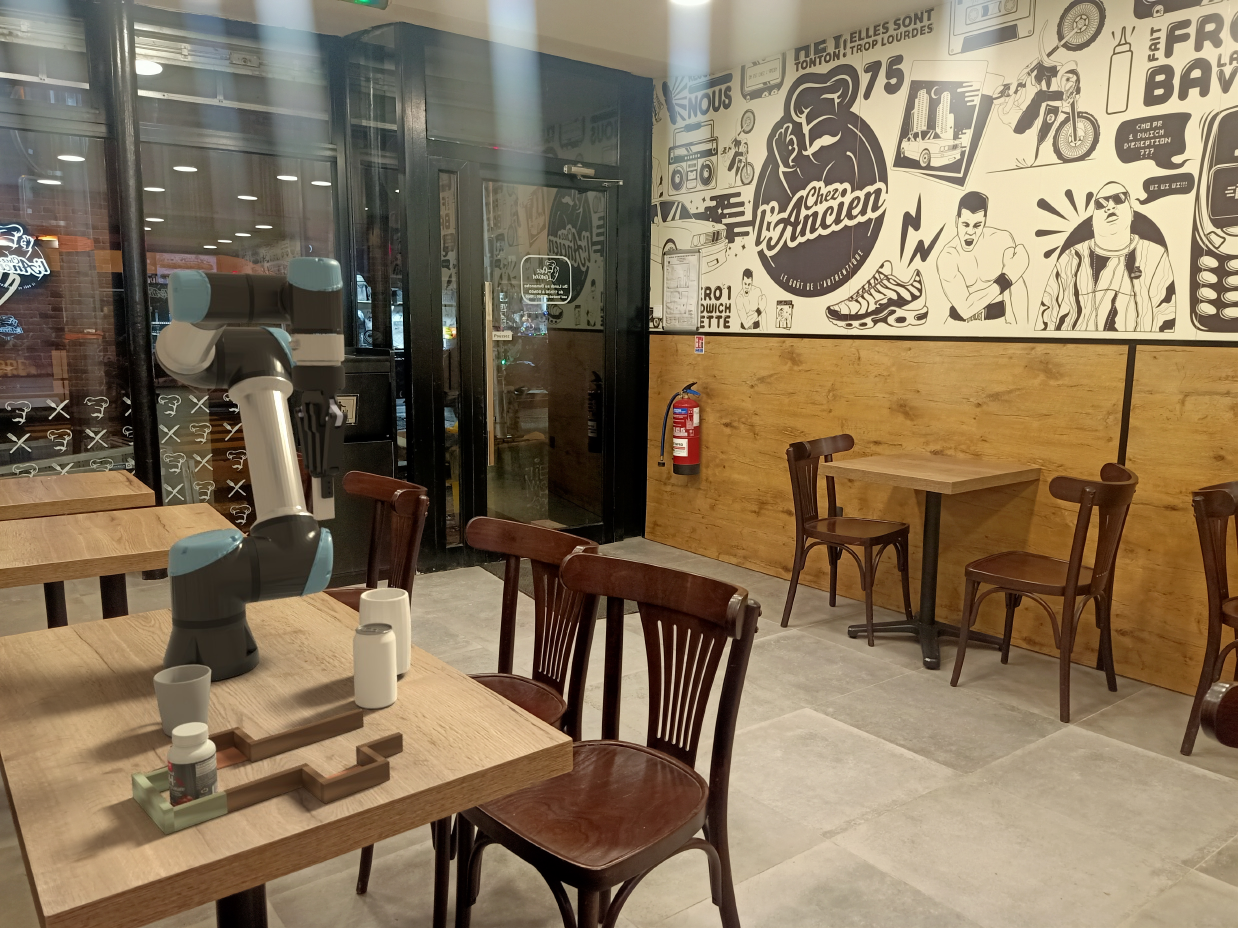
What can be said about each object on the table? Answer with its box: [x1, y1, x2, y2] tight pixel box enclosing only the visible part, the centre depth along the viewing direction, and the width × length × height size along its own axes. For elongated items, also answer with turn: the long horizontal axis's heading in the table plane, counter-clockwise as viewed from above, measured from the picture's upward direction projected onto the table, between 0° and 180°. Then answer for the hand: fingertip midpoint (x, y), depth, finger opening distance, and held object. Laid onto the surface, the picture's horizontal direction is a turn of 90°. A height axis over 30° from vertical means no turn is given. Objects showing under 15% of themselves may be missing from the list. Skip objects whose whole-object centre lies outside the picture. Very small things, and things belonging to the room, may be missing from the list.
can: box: [352, 623, 398, 710], centre depth 142 cm, size 6×6×12 cm
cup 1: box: [152, 665, 212, 738], centre depth 133 cm, size 8×10×8 cm
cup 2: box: [358, 587, 412, 676], centre depth 153 cm, size 8×8×14 cm
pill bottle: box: [166, 722, 219, 807], centre depth 111 cm, size 5×5×10 cm
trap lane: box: [130, 708, 404, 835], centre depth 119 cm, size 24×31×3 cm
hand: (324, 518), depth 139 cm, fingers closed
